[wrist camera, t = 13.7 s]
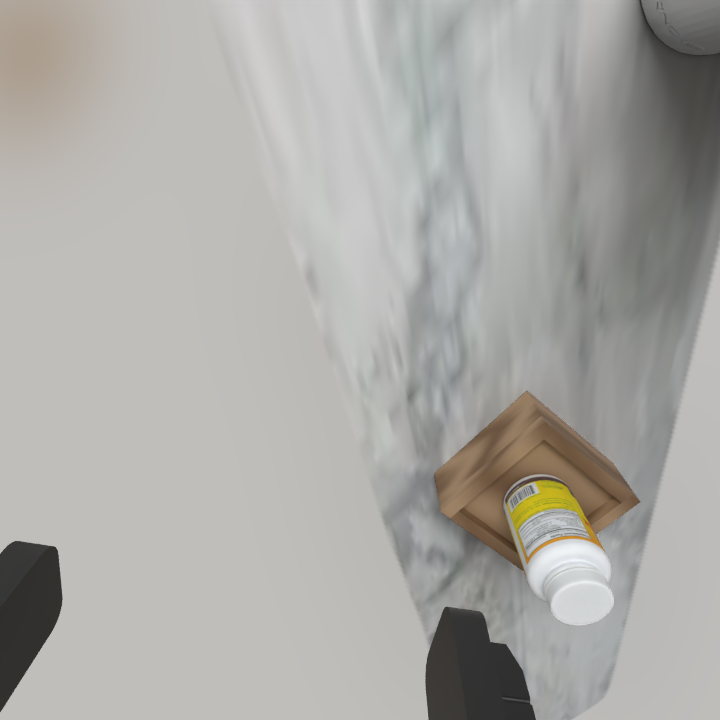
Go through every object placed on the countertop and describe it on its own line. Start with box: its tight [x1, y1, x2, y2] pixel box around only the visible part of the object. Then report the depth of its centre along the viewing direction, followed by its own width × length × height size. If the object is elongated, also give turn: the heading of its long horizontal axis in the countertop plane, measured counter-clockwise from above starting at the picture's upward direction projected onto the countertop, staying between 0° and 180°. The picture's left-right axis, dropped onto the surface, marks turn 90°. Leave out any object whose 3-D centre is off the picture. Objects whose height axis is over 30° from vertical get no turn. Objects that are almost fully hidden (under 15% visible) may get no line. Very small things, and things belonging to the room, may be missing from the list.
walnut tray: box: [434, 391, 640, 571], centre depth 43 cm, size 11×11×5 cm
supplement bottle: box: [503, 474, 614, 626], centre depth 37 cm, size 6×6×10 cm
